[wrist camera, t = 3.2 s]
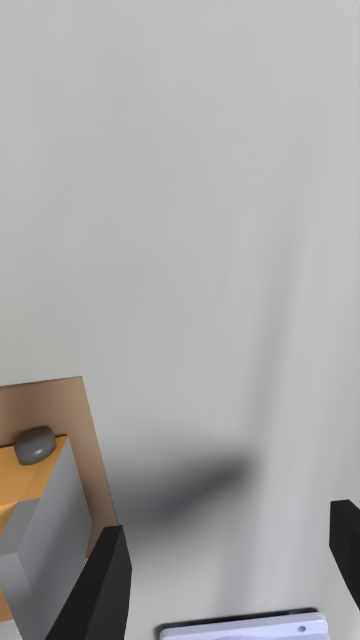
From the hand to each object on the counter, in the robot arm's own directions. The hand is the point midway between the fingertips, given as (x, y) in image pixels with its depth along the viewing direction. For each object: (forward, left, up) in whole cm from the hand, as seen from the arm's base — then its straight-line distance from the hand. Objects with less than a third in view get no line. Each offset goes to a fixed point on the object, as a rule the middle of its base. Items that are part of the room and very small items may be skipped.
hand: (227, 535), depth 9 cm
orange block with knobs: (+9, 0, -3) cm, 10 cm away
